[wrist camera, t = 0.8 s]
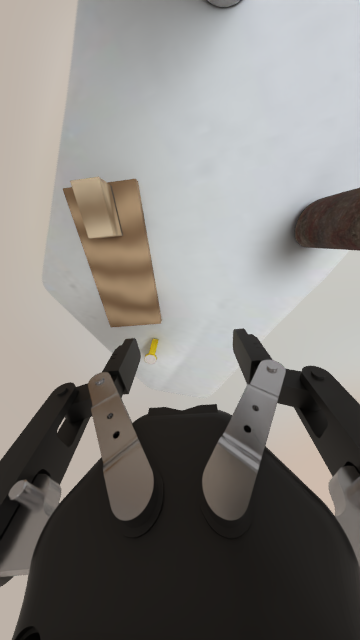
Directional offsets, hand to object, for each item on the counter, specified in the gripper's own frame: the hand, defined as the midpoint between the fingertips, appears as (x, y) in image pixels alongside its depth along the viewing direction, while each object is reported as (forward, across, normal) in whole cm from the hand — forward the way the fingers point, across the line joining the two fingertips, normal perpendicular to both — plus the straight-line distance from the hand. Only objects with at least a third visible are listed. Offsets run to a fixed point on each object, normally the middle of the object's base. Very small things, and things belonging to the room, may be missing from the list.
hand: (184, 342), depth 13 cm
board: (+23, +12, -3) cm, 26 cm away
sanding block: (+22, +12, -12) cm, 28 cm away
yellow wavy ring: (+23, +10, +17) cm, 30 cm away
